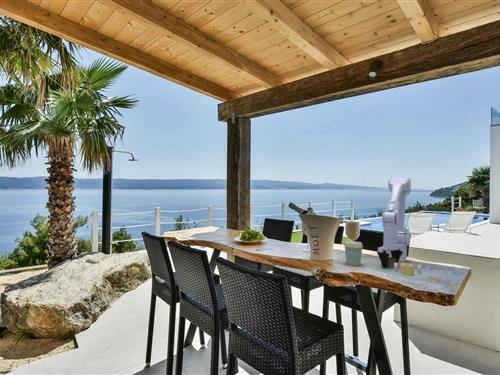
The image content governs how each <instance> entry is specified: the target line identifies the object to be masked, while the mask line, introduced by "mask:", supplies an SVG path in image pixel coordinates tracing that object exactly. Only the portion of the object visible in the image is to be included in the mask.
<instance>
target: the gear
mask: <svg viewBox="0 0 500 375" xmlns="http://www.w3.org/2000/svg"><path fill="white" fill-rule="evenodd" d="M394 263H396V258H391V257H389V258H388V263H387V268H394Z"/></svg>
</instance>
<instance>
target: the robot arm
mask: <svg viewBox="0 0 500 375" xmlns="http://www.w3.org/2000/svg"><path fill="white" fill-rule="evenodd" d="M387 186H388V188H389V191H390V199H388V201H386V208H385V211H384V212H382V216H381V218H382V219H381V221H382V227H383V241H382V242H383V245H382V246H380V247H377V251H376V254H377V256H378V257H379V260H380V263H381V264H380V265H382V267H384V268H387V263H388V258H389V257H391V258H396V263H398V264H399V262H407V253H408V252H407V249H408V248H407V247H408V246H409V245H410V244H411V232H410V230H409V229H408V228H407V227H406V226H405V216H406V215H405V214H406V200H407V196H408V195H410V194H411V191H412V190H411V188H412V180H411V178H410V177H389V178H388V183H387Z"/></svg>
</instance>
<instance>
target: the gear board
mask: <svg viewBox="0 0 500 375" xmlns="http://www.w3.org/2000/svg"><path fill="white" fill-rule="evenodd" d="M368 268H370V269H373V270H376V271H379V272H382V273H386V274H391V275H394V276H398V277H400V278H404V279H409V280H411V281H415V280H416V281H417V280H420V279H421V280H422V279H425V278H430V277H436V276H437V274H432V273H429V272H426V271H422V265H420V264H417V269H414V275H411V276H409V275H402V274H401V273H400V265H399V262H398V263H394V268H384V267H382V265H381V264H380V265H379V264H378V265H374V266H373V265H372V266H368Z"/></svg>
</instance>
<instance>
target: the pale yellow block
mask: <svg viewBox="0 0 500 375" xmlns="http://www.w3.org/2000/svg"><path fill="white" fill-rule="evenodd" d="M399 266H400V273H401V274H402V275H409V276H411V275H414V270H415V265H413V264H412V263H405V262H402V263H399Z"/></svg>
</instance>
